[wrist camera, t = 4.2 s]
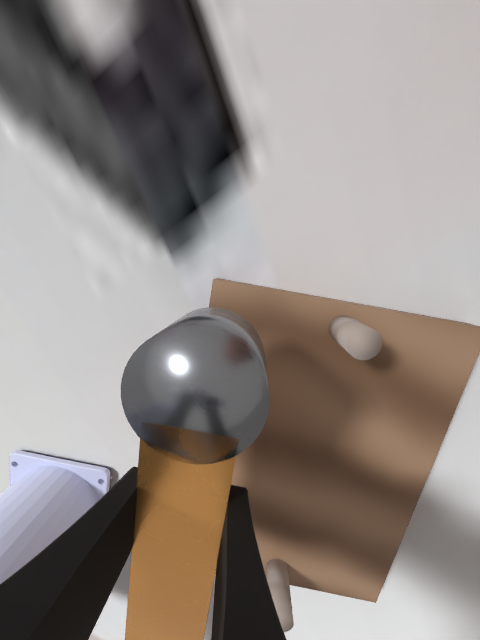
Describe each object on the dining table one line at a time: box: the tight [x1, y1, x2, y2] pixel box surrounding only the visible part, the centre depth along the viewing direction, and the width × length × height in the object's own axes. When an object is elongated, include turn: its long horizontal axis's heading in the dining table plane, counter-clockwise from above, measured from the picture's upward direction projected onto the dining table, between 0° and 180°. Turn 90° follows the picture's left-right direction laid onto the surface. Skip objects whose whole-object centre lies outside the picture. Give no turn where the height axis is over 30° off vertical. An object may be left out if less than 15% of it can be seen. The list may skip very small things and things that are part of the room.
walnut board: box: [209, 278, 480, 632], centre depth 16 cm, size 22×16×4 cm
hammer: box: [121, 307, 269, 640], centre depth 10 cm, size 13×4×4 cm, turn 171°
